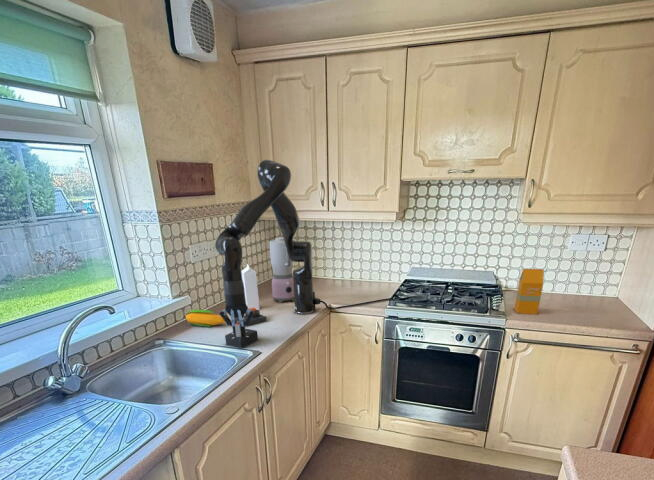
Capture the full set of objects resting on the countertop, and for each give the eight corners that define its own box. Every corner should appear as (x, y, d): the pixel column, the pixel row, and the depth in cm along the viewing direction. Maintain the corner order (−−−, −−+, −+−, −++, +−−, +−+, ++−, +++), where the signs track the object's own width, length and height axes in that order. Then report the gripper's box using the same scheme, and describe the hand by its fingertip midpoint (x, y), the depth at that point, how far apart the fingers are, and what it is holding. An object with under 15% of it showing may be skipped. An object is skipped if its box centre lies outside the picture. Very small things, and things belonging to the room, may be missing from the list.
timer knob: (238, 332, 162) (237, 320, 160) (243, 332, 162) (241, 320, 160) (236, 337, 158) (234, 324, 155) (240, 336, 158) (239, 324, 155)
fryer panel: (242, 336, 169) (241, 327, 167) (260, 340, 165) (259, 330, 163) (223, 346, 160) (222, 336, 158) (242, 350, 156) (241, 340, 154)
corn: (190, 305, 185) (229, 308, 180) (193, 320, 189) (231, 324, 183) (180, 311, 179) (220, 314, 173) (184, 327, 182) (223, 330, 177)
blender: (269, 298, 221) (264, 237, 208) (289, 295, 227) (286, 235, 213) (281, 305, 209) (276, 241, 195) (302, 302, 214) (299, 239, 201)
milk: (257, 306, 208) (253, 263, 199) (259, 309, 203) (255, 265, 194) (245, 308, 206) (240, 264, 197) (247, 311, 201) (242, 266, 192)
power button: (253, 310, 190) (253, 307, 189) (257, 312, 187) (257, 308, 186) (247, 312, 187) (246, 308, 187) (251, 314, 185) (250, 310, 184)
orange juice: (537, 314, 190) (546, 271, 181) (517, 313, 191) (524, 270, 183) (533, 309, 197) (541, 267, 188) (514, 308, 198) (521, 267, 190)
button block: (256, 316, 193) (255, 308, 191) (266, 321, 187) (265, 313, 185) (235, 322, 187) (234, 313, 185) (245, 326, 180) (244, 318, 179)
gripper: (213, 294, 149) (220, 338, 156) (250, 293, 149) (255, 337, 156) (218, 289, 156) (224, 331, 163) (254, 288, 156) (258, 331, 163)
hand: (239, 334), depth 160 cm, fingers closed on timer knob, 2 cm apart
